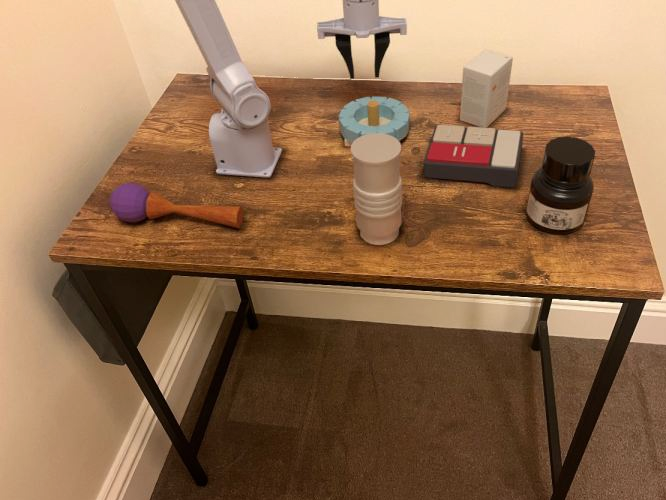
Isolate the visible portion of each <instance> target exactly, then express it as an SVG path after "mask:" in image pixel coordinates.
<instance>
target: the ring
mask: <svg viewBox="0 0 666 500" xmlns="http://www.w3.org/2000/svg"><path fill="white" fill-rule="evenodd" d="M369 101H377V102H378V103H379V117H384V118H386V119H389V120H391V121H390V122H389V123H387V124H385V125H380V126H365V125H362V124H360V123H358V122H359V121H360V120H362V119H364V118H368V112H367V103H368V102H369ZM410 125H411V112H410V110H409V108H407V106H406V105H405V104H404V103H402V101H399V100H397V99H394V98H392V97H387V96H376V95H375V96H374V95H371V97H370V96H364V97H361V98H356V99H355V100H352V101H350V102H349V103H347V104H345V105H343V107H342V108H341V109H340V112H339V115H338V127H339V132H340V134H341V136H342V137H343V139H344V140H345V139H347V141H348V142H350V143H353V142H354V141H355V140H356V139H357V138H359V137H361V136H363V135H367V134H372V133H383V134H388V135H390V136H393V137H395V138H396V139H397V140H398V141H399V142H401V140H404V138H405V137H407V135H408V134H409V130H410V127H411V126H410Z"/></svg>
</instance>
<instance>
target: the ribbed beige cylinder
mask: <svg viewBox="0 0 666 500" xmlns="http://www.w3.org/2000/svg"><path fill="white" fill-rule="evenodd" d="M401 153H402V144H401V141H398V140H397V139H396V138H395V137H393V136H390V135H388V134H383V133H372V134H367V135H363V136H361V137H359V138H357V139H356V140H355V141H354V142H353V143H352V145H351V147H350V155H351V156H352V158H353V162H352V163H353V172H354V173H353V174H354V177H353V180H352V187H353V188H352V191H353V199H354V200H353V201H354V202H353V203H354V208H355V209H356V213H355V215H356V216H355V217H356V218H355V223H356V226H357V228H358V230H359V234H360V237H361V239H362V240H363V241H365V242H366V243H368V244H370V245H376V246H382V245H387V244H390V243H392V242H394V241H395V240H396V239H397V238H398V236H399V235H400V227H401V225H402V223H403V218H402V217H403V216H402V210H401V209H402V205H403V179H402V176H401V175H400V166H401V165H400V155H401Z"/></svg>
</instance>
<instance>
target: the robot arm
mask: <svg viewBox="0 0 666 500" xmlns="http://www.w3.org/2000/svg"><path fill="white" fill-rule="evenodd" d="M174 1H175V3H176V5H177V7H178V9H179V11H180V14H181V15H182V18H183V20H184V21H185V24H186V26H187V27H188V29H189V31H190V33H191V36H192V37H193V40H194V41H195V44H196V45H197V47H198V50H199V52H200V54H201V56H202V58H203V60H204V62H205V64H206V69H205V71H206V73H207V74H208V77H209V82H210V83H209V90H210V93H211V96H212V98H213V99H214V100H215V101H216V102H218V103H219V104H220V106H221V108H220V109H221V110H220V112H215V113H213V114H212V115H211V118H210V119H209V124H208V139H209V143H210V147H211V151H212V154H213V158H214V161H215V165H216V170H215V173H216V174H217V175H225V176H226V175H227V176H241V177H255V178H271V177H272V176H273V173H274V171H275V170H276V169H275V168H276V166H277V164H278V162H279V159H280V157H281V154H282V152H283V149H282V147H274V144H273V140H272V135H271V128H270V123H269V118H268V117H269V115H270V112H271V109H272V107H271V104H272V103H271V100H270V98H269V96H268V95H267V93H266V92H264V90H262V89H260V88H259V87H258V85H257V83H256V80H255V79H254V77H253V75H252V74H251V73H250V71H249V69H248V68H247V66H246V65H245V63H244V62H243V60H242V58H241V55H240V53H239V51H238V49H237V46H236V44H235V42H234V40H233V38H232V36H231V33H230V31H229V29H228V26H227V24H226V22H225V19H224V18H223V15H222V13H221V10H220V7H219V6H218V4H217V2H216V0H174ZM379 2H380V0H342V11H343V12H342V13H343V17H341V18H337V19H331V20H325V21H318V22H317V23H316V31H317V39H318V40H324V39H326V38H329V37H334V39H335V41H334V42H335V47H336V49H337V50H338V52H339V54H340V55H341V57H342V58H343V61H344V63H345V66H346V68H347V70H348V74H349V79H350V80H354V79H355V67H354V60H353V53H352V37H351V36H355V38H357V39H368V38H369V37H370V36H371V35H373V37H374V38H373V39H374V40H373V41H374V62H373V63H374V64H373V65H374V66H373V67H374V68H373V69H374V78H377V79H378V78H380V72H381V67H382V63H383V60H384V57H385V55H386V53H387V50H388V49H389V47H390V43H391V37H390V35H393V34H394V35H395V34H399V35H400V36H407V35H408V24H407V23H408V22H407V18H406V17H389V16H382V15H380V3H379Z"/></svg>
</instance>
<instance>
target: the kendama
mask: <svg viewBox="0 0 666 500" xmlns="http://www.w3.org/2000/svg"><path fill="white" fill-rule="evenodd" d="M109 206H110V208H111V211H112V212H113V214H114V215H115V216H116V217H117V218H118V219H119V220H122V221H123V222H129V223H138V222H141V221H143V220H145V219H146V218H148V220H154V219H157V218H160V217H164V216H166V215H169V214H172V213H173V214H174V213H177V214H181V215H185V216H188V217H192V218H196V219H200V220H204V221H209V222H212V223H217V224H220V225H224V226H227V227H232V228H236V229H240V228H241V227H242V225H243V222H244V216H245V215H244V214H245V213H244V208H243V206H234V205H233V206H231V205H230V206H229V205H196V204H195V205H192V204H191V205H190V204H175V203H173V202H171V201H170V200H168V199H167V198H165V197H164V196H162V195H160V194H159V193H158V192H155V191H151V192H149V191H148V189H147V188H146V187H144V186H143V185H141V184H139V183H134V182H126V183H122V184H120V185H118V186H117V187H115V189H113V191H112V192H111V194H110V200H109Z"/></svg>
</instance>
